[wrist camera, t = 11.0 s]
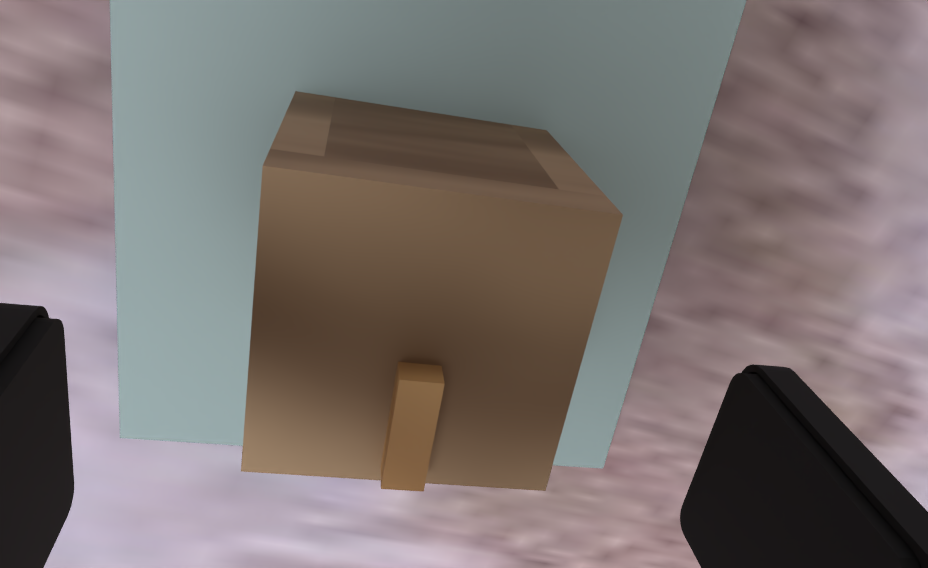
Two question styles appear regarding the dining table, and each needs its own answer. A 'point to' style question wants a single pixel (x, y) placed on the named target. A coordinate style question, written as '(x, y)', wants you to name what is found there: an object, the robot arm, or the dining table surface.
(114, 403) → the dining table surface
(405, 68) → the shaft base
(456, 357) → the light brown wooden cube
